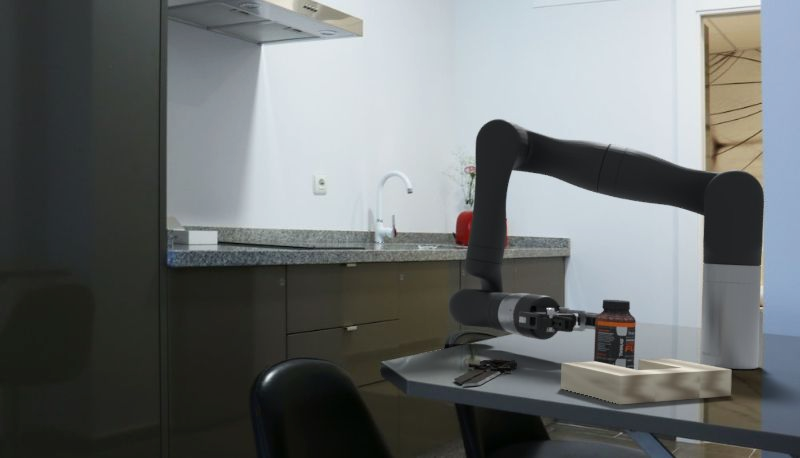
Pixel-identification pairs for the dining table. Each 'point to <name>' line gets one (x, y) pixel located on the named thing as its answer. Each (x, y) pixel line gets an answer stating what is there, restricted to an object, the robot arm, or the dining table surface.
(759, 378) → the dining table surface
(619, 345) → the supplement bottle
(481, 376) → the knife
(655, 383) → the slot dock
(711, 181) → the robot arm
